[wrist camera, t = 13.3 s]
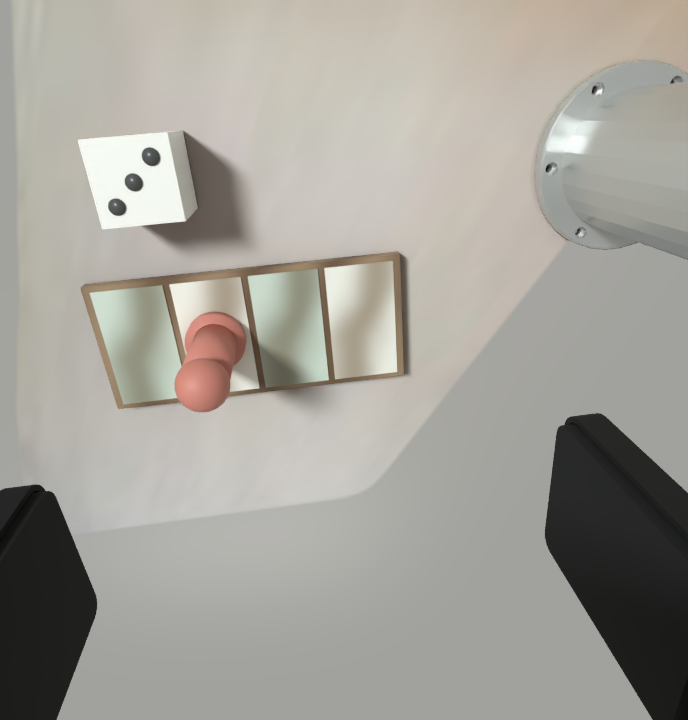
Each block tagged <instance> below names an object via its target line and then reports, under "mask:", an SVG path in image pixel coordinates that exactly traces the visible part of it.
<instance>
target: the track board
mask: <svg viewBox="0 0 688 720" xmlns="http://www.w3.org/2000/svg"><path fill="white" fill-rule="evenodd" d="M81 292H82V295H83V298H84V301H85V304H86V308H87V311H88V314H89V317H90V321H91V324H92V327H93V330H94V333H95V337H96V340H97V343H98V346H99V349H100V353H101V356H102V359H103V362H104V365H105V369H106V372H107V375H108V378H109V381H110V385H111V388H112V391H113V394H114V398H115V401H116V404H117V407H118V409H123V408H131V407H140V406H148V405H157V404H165V403H173V402H180V401H179V400H178V398H177V396H176V393H175V388H174V383H175V378H176V375H177V373H178V371H179V370H180V368H181V367H182V365H183V362H184V360H185V357H186V355H187V351H186V348H185V335H186V332H187V330H188V328H189V326H190V324H191V323H192V321H193V320H194V319H195V318H197V317H198V316H200V315H201V314H204V313H207V312H215V311H216V312H223V313H226V314H229V315H231V316H232V317H234V318H235V319H236V320H238V322H239V323H240V324H241V325H242V327H243V329H244V331H245V334H246V346H245V351H244V354H243V356H242V358H241V359H240V361H239V362H238V363H237V364H236V365H234V366H233V370H232V374H231V379H230V383H231V384H230V392H229V395H228V396H232V395H240V394H249V393H257V392H266V391H274V390H282V389H291V388H299V387H307V386H316V385H324V384H333V383H341V382H349V381H358V380H366V379H375V378H383V377H391V376H400V375H404V365H403V333H402V302H401V270H400V254H399V253H398V252H390V253H381V254H371V255H362V256H352V257H343V258H333V259H323V260H314V261H304V262H295V263H285V264H275V265H266V266H256V267H247V268H237V269H227V270H218V271H208V272H199V273H189V274H179V275H170V276H160V277H151V278H141V279H132V280H122V281H112V282H103V283H93V284H85V285H83V286H82V287H81Z"/></svg>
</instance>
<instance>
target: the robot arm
mask: <svg viewBox="0 0 688 720" xmlns="http://www.w3.org/2000/svg"><path fill="white" fill-rule="evenodd" d="M592 88H594V92H593V93H592ZM547 165H549V168H548V170H547V171H546V170H545V169H546V166H547ZM535 186H536V193H537V197H538V201H539V205H540V207H541V209H542V211H543V214H544V216H545V218H546V219H547V221H548V222H549V223H550V224H551V226H552V227H553V228H554V229H555V230H556V231H557V232H558V233H560V234H561V235H562V236H563V237H565V238H566V239H568V240H570V241H572V242H575V243H577V244H579V245H582V246H585V247H588V248H594V249H604V250H606V249H615V248H622V247H625V246H628V245H632V244H635V243H637V242H639V243H642V244H645V245H648V246H651V247H654V248H656V249H659V250H662V251H665V252H667V253H670V254H673V255H676V256H679V257H682V258H684V259H687V260H688V75H687V74H686V73H685V72H683V71H682V70H680V69H678V68H677V67H675V66H673V65H670V64H667V63H663V62H660V61H649V60H639V61H632V62H625V63H622V64H618V65H615V66H612V67H608V68H606V69H604V70H602V71H600V72H599V73H597V74H595V75H593V76H591V77H590V78H588V79H587V80H586V81H584V82H583V83H582V84H581V85H579V86H578V87H577V88H575V89H574V90H573V92H572V93H571V94H570V95H569V96H568V97H567V98H566V99H565V100H564V101H563V102H562V103H561V105H560V106H559V108H558V109H557V111H556V112H555V114H554V115H553V117H552V118H551V120H550V122H549V124H548V126H547V128H546V130H545V133H544V135H543V137H542V140H541V143H540V147H539V150H538V154H537V159H536V167H535ZM577 229H578V230H577ZM576 230H577V232H576ZM545 539H546V543H547V546H548V549H549V550H550V553H551V554H552V556H553V558H554V559H555V561H556V563H557V564H558V566H559V568H560V569H561V571H562V572H563V574H564V576H565V577H566V579H567V581H568V582H569V584H570V585H571V587H572V589H573V590H574V592H575V593H576V595H577V597H578V598H579V600H580V602H581V603H582V605H583V606H584V608H585V610H586V612H587V613H588V615H589V616H590V618H591V620H592V621H593V623H594V625H595V626H596V628H597V630H598V631H599V633H600V634H601V636H602V638H603V639H604V641H605V643H606V644H607V646H608V647H609V649H610V651H611V652H612V654H613V656H614V657H615V659H616V660H617V662H618V664H619V665H620V667H621V669H622V670H623V672H624V674H625V675H626V677H627V678H628V680H629V682H630V683H631V685H632V687H633V688H634V690H635V691H636V693H637V695H638V696H639V698H640V700H641V701H642V703H643V705H644V706H645V708H646V709H647V711H648V713H649V714H650V716H651V717H652V719H653V720H688V493H687V492H686V491H685V490H684V489H683V488H682V487H681V486H680V485H678V484H677V483H676V482H675V481H674V480H673V479H672V478H671V477H670V476H669V475H668V474H667V473H665V472H664V471H663V470H662V469H661V468H660V467H659V466H658V465H657V464H656V463H655V462H654V461H653V460H652V459H650V458H649V457H648V456H647V455H646V454H645V453H644V452H643V451H642V450H641V449H640V448H639V447H637V446H636V445H635V444H634V443H633V442H632V441H631V440H630V439H629V438H628V437H627V436H626V435H625V434H624V433H623V432H621V431H620V430H619V429H618V428H617V427H616V426H615V425H614V424H613V423H612V422H611V421H610V420H609V419H607V418H606V417H605V416H604V415H602V414H599V413H596V414H588V415H580V416H573V417H569V418H567V420H566V422H565V425H563V426H560V427H559V428H558V431H557V435H556V443H555V452H554V460H553V468H552V477H551V486H550V493H549V502H548V510H547V518H546V527H545ZM96 610H97V599H96V595H95V592H94V590H93V587H92V585H91V582H90V580H89V577H88V575H87V572H86V570H85V567H84V565H83V563H82V560H81V558H80V555H79V553H78V550H77V548H76V545H75V543H74V540H73V538H72V536H71V533H70V531H69V528H68V526H67V523H66V521H65V518H64V516H63V513H62V511H61V509H60V506H59V504H58V501H57V499H56V497H55V495H54V494H53V493H52V492H50V491H45V490H44V488H43V487H42V486H40V485H29V486H21V487H13V488H5V489H3V490H1V491H0V720H56V719H57V716H58V714H59V711H60V709H61V706H62V703H63V701H64V698H65V695H66V693H67V690H68V687H69V684H70V682H71V679H72V677H73V674H74V672H75V669H76V666H77V663H78V661H79V658H80V656H81V653H82V650H83V648H84V645H85V642H86V640H87V637H88V635H89V632H90V629H91V626H92V624H93V621H94V619H95V615H96Z"/></svg>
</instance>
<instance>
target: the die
mask: <svg viewBox="0 0 688 720" xmlns="http://www.w3.org/2000/svg"><path fill="white" fill-rule="evenodd" d="M78 143H79V147H80V150H81V154H82V158H83V161H84V165H85V168H86V172H87V176H88V179H89V183H90V186H91V190H92V194H93V197H94V201H95V205H96V208H97V212H98V215H99V219H100V223H101V226H102V229H111V228H121V227H131V226H142V225H152V224H163V223H173V222H183V221H186V220H187V219H188V218H189V217H190V216H191V215H192V214H193V213H194V212H195V211H196V210H197V209H198V206H197V201H196V196H195V191H194V185H193V180H192V175H191V170H190V165H189V160H188V154H187V149H186V144H185V139H184V134H183V130H181V131H169V132H157V133H146V134H134V135H122V136H111V137H100V138H91V139H82V140H78Z"/></svg>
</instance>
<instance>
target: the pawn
mask: <svg viewBox="0 0 688 720" xmlns="http://www.w3.org/2000/svg"><path fill="white" fill-rule="evenodd" d="M245 346H246V334H245V331H244V329H243V327H242V325H241V324H240V323H239V322H238V320H236V319H235V318H234V317H232V316H231V315H229V314H226V313H223V312H216V311H215V312H207V313H204V314H201V315H200V316H198V317H197V318H195V319H194V320H193V321H192V323H191V324H190V326H189V328H188V330H187V332H186V335H185V348H186V351H187V355H186V357H185V360H184V362H183V365H182V367H181V368H180V370H179V371H178V373H177V375H176V378H175V383H174V388H175V393H176V396H177V398H178V400H179V401H180V402H181V403H182V404H183V405H184V406H185V407H186V408H188V409H190V410H192V411H196V412H209V411H212V410H214V409H216V408H218V407H219V406H221V405H222V404H223V403H224V402H225V400H226V399H227V397H228V395H229V392H230V384H231V383H230V379H231V374H232V370H233V366H234V365H236V364H237V363H238V362H239V361H240V359H241V358H242V356H243V354H244V351H245Z"/></svg>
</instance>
